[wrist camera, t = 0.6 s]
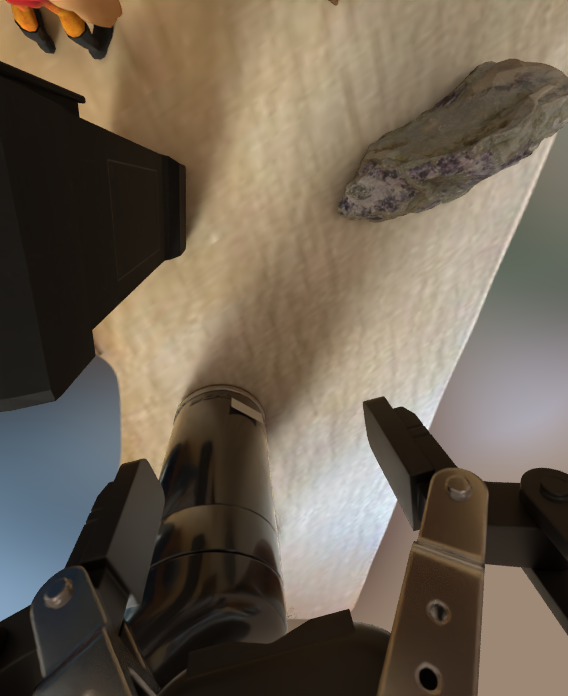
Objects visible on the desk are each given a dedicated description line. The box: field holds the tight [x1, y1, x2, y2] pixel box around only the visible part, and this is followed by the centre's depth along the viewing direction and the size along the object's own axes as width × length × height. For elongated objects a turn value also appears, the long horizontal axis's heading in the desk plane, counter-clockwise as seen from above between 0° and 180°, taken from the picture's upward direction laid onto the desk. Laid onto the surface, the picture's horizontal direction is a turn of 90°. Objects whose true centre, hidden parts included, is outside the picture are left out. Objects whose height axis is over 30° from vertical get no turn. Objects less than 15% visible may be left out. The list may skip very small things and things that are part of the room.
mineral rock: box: [338, 59, 568, 222], centre depth 22 cm, size 13×11×10 cm
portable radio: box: [0, 61, 186, 412], centre depth 15 cm, size 8×6×25 cm
